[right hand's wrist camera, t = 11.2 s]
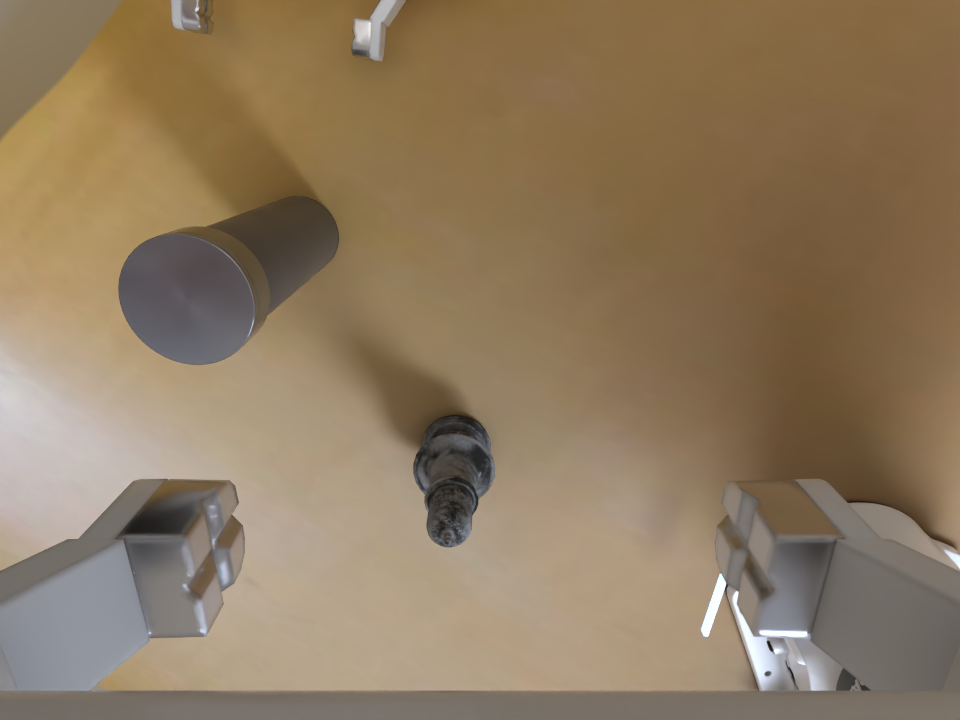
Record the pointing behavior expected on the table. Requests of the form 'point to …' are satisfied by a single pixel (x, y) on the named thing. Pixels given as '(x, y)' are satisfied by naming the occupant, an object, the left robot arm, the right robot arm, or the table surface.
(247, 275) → the lid
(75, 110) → the table surface
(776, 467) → the table surface
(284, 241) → the grey tall cylinder
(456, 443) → the dark grey chess piece
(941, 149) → the table surface
